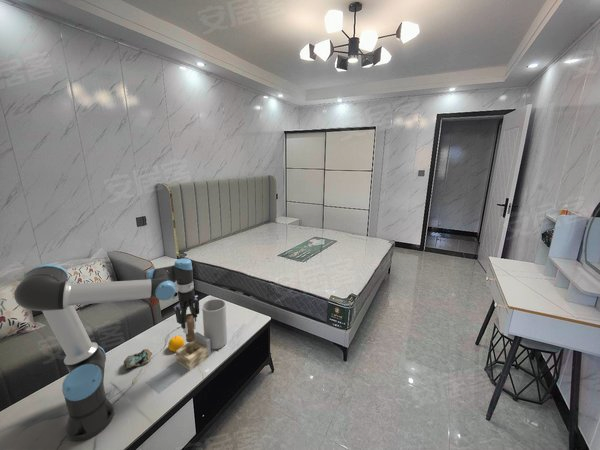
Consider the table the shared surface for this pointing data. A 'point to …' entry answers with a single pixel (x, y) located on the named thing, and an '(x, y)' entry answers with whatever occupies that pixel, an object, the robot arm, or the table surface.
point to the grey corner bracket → (175, 369)
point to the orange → (175, 343)
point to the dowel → (190, 328)
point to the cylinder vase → (215, 322)
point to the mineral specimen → (137, 359)
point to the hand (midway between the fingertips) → (189, 330)
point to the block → (191, 354)
